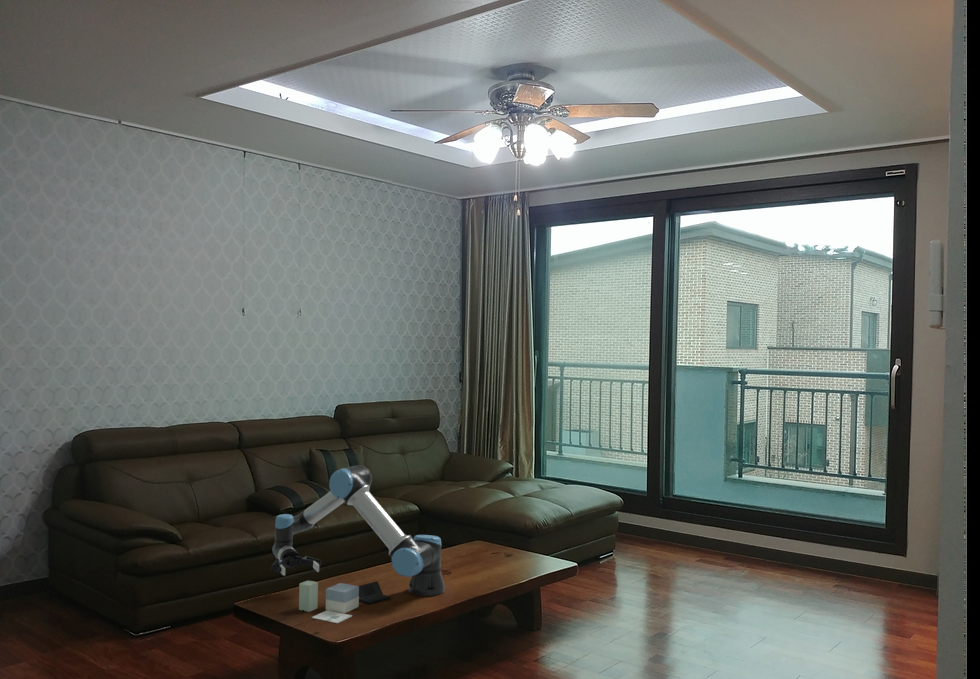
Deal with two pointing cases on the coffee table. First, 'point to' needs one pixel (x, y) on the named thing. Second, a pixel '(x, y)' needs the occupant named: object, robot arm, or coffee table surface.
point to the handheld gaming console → (371, 593)
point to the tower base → (342, 605)
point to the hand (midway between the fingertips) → (301, 570)
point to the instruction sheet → (332, 616)
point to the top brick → (308, 596)
